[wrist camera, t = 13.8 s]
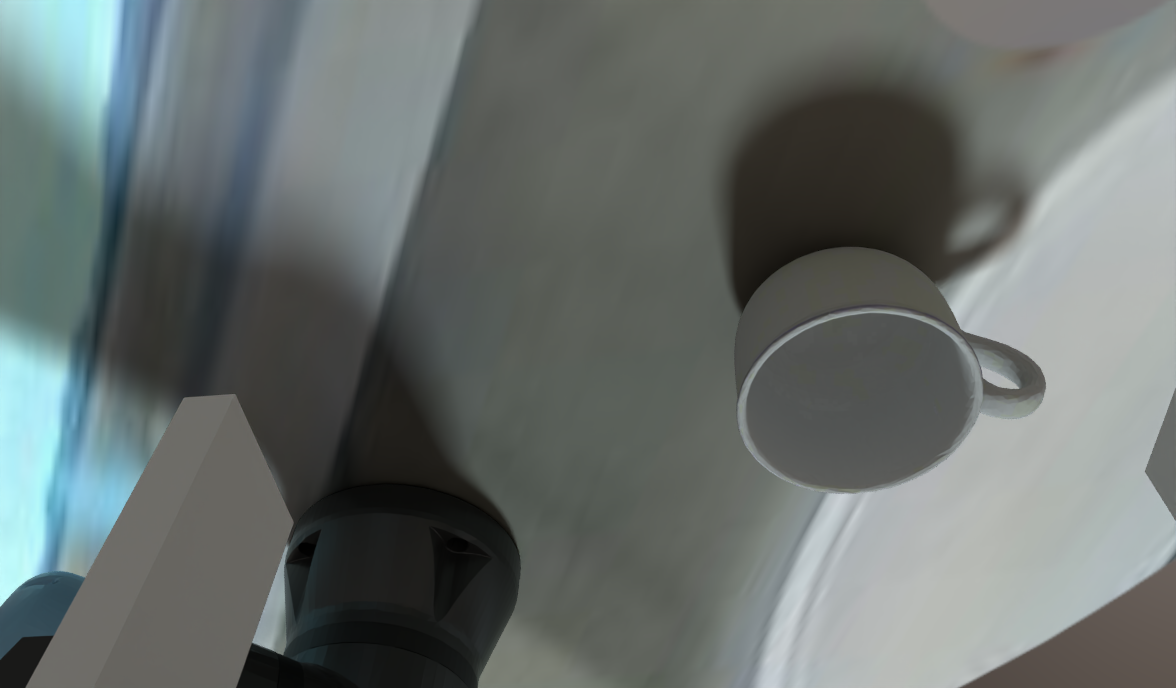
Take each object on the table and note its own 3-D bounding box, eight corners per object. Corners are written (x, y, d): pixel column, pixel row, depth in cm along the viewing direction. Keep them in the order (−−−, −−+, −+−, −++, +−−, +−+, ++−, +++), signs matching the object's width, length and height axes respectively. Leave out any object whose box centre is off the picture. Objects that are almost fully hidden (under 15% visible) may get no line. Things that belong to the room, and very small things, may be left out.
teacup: (701, 366, 50) (711, 477, 44) (759, 195, 43) (779, 298, 37) (947, 405, 51) (989, 518, 45) (1041, 244, 44) (1106, 351, 38)
